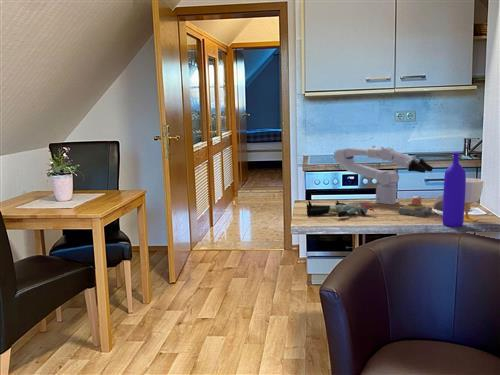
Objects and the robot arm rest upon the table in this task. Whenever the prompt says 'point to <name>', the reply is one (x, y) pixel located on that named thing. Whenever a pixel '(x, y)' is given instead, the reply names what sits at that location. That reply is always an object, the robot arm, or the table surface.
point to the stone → (439, 204)
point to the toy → (337, 209)
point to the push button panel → (415, 210)
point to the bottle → (454, 194)
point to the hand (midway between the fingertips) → (428, 170)
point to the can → (416, 200)
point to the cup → (472, 194)
